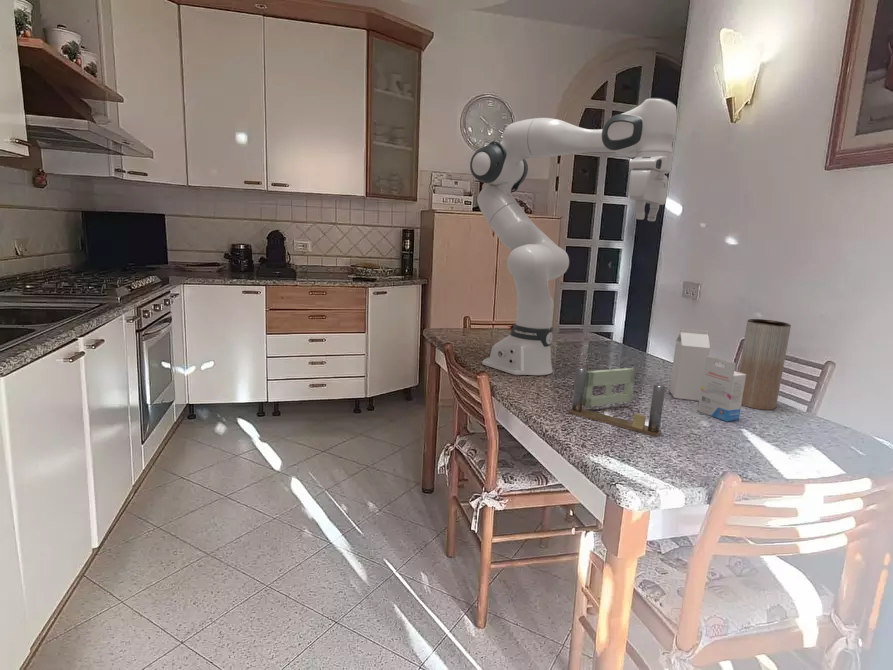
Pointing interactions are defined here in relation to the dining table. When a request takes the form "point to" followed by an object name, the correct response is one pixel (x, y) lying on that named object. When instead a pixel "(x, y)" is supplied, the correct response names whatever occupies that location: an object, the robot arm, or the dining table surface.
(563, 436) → the dining table surface
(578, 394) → the drawknife
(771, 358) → the planter
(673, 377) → the milk carton
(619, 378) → the gate
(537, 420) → the dining table surface
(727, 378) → the ink box
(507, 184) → the robot arm
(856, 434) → the dining table surface
